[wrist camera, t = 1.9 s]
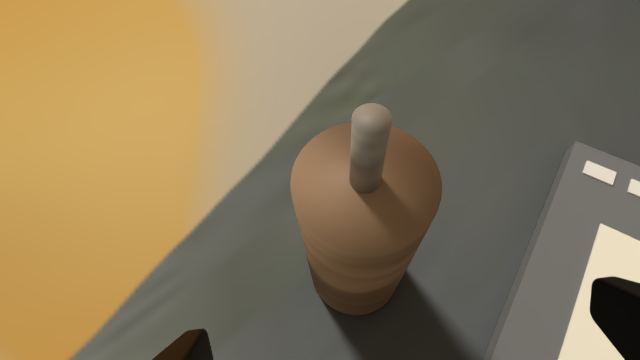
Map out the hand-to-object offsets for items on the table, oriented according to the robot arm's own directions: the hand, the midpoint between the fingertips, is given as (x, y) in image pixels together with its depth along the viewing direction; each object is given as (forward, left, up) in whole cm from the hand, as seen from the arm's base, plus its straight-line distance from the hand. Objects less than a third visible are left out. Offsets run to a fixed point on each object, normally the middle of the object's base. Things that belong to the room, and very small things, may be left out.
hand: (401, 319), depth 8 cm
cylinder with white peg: (+3, +3, -11) cm, 12 cm away
